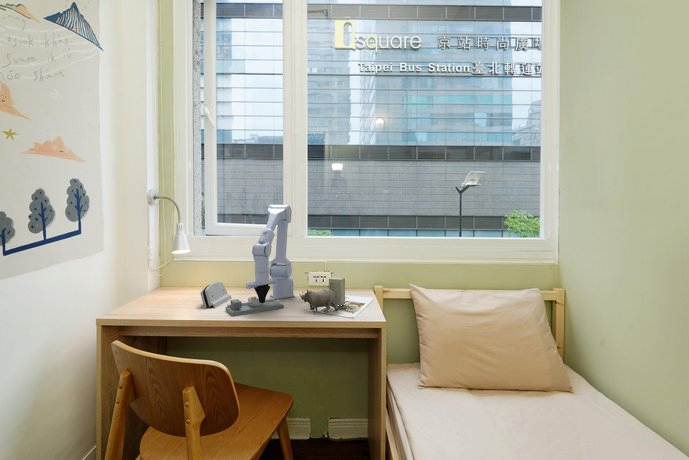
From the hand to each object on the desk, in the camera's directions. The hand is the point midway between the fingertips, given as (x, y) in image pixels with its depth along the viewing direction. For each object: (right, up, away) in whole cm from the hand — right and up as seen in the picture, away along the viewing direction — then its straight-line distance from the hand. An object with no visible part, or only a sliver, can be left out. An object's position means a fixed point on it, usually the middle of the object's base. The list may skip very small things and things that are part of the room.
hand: (262, 302), depth 159 cm
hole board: (-3, -3, -2) cm, 4 cm away
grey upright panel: (-23, -2, +8) cm, 24 cm away
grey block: (-3, -1, -2) cm, 4 cm away
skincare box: (+32, -3, +6) cm, 33 cm away
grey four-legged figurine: (+24, -3, -3) cm, 24 cm away
